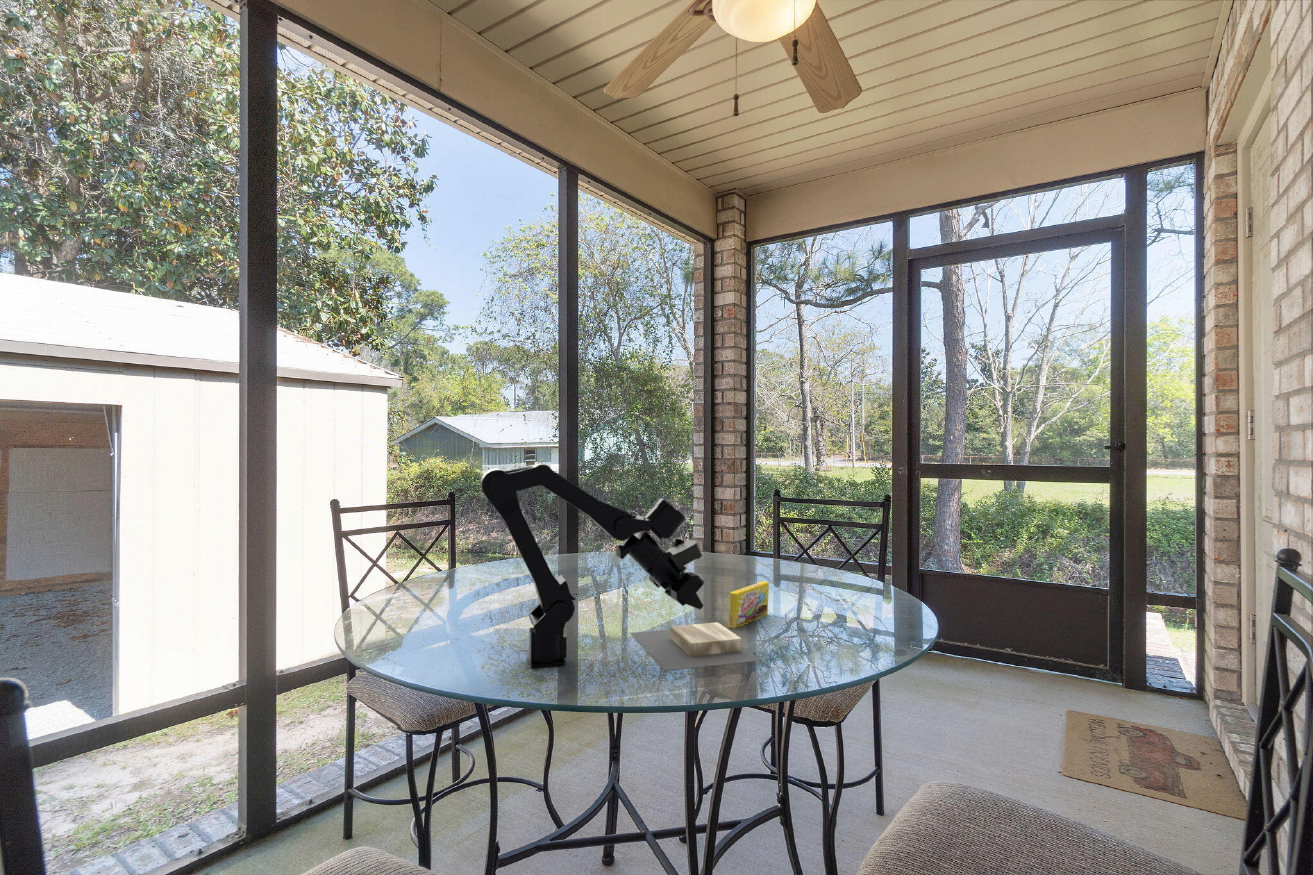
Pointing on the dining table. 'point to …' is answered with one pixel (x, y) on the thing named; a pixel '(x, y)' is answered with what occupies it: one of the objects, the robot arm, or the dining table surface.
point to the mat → (677, 658)
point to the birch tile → (705, 639)
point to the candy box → (748, 604)
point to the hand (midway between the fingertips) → (701, 607)
